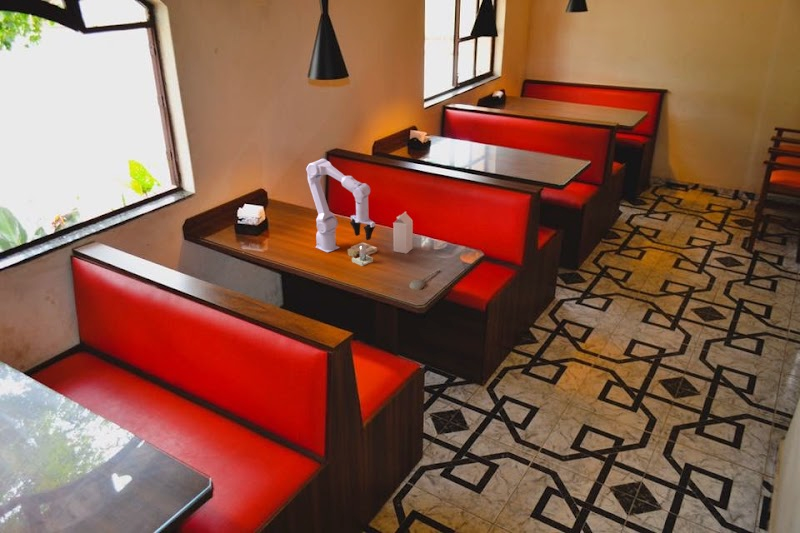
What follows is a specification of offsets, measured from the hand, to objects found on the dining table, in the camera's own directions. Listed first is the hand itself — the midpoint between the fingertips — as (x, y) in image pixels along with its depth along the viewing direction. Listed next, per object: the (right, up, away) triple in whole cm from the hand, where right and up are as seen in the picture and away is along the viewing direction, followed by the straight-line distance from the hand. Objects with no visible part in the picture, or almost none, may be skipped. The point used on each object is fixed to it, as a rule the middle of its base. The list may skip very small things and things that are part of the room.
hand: (363, 237), depth 297 cm
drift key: (-4, -8, +7) cm, 11 cm away
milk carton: (+19, -6, +12) cm, 23 cm away
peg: (0, -11, 0) cm, 11 cm away
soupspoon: (+29, -20, -18) cm, 40 cm away
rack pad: (0, -11, 0) cm, 12 cm away
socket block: (0, -6, +11) cm, 12 cm away
